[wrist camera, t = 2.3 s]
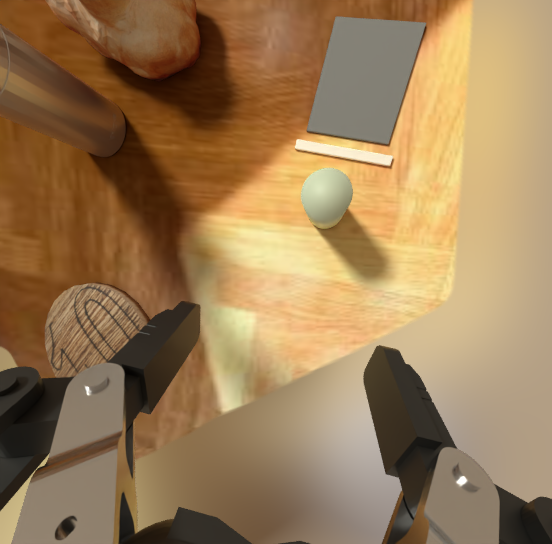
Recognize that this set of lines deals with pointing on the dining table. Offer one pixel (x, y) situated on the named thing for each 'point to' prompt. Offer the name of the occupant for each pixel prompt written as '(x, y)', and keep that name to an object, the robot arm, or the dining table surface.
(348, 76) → the mat
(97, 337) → the trivet
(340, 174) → the pale green cylinder
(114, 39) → the ceramic vessel
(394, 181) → the dining table surface
